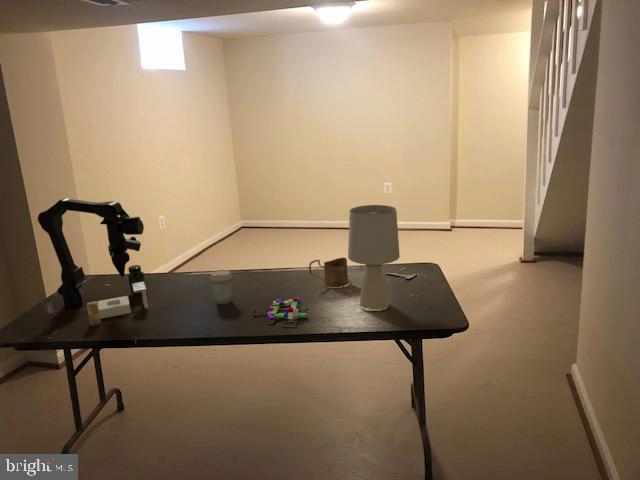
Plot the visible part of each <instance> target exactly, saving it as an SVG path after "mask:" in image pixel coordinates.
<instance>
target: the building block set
mask: <svg viewBox="0 0 640 480" xmlns="http://www.w3.org/2000/svg"><path fill="white" fill-rule="evenodd" d="M281 299H282V298H276V299H275V300H274V301H273V302H272V303H273V305H275V306H270V309H273V310H268V312H267V314H268V316H267V319H268V318H269V320H274V318H284V317H288V319H293V316H295V317H296V316H306V315H307V316H308V313H307V312H299V310H298V309H296V308H297V307H298V306H297V305H298V304H300V305H301V303H300V302H301V299H300V297H297V296H296V297H293V298H292V299H291V298H289V299H288V300H283V301H281ZM280 305H285V306H288V307H289V305H291V307H289V308H286V311H284V312H285V313H278V314H276V313H277V311H278V308H279V306H280ZM278 312H279V311H278ZM269 320H268V321H269Z"/></svg>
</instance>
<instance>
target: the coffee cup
mask: <svg viewBox="0 0 640 480" xmlns="http://www.w3.org/2000/svg"><path fill="white" fill-rule="evenodd" d="M232 278H233V274H232V272H231V270H227V269H219V270H218V269H217V270H214V271H213V272H211V275H210V282H211V284H212V288H213V292H214V298H215V303H216V304H218V305H226V304H227V305H228V304H230V303H231V302H232V287H233V286H232V280H233V279H232Z"/></svg>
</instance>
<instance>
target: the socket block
mask: <svg viewBox="0 0 640 480" xmlns="http://www.w3.org/2000/svg"><path fill="white" fill-rule="evenodd" d="M129 300H130V299H129V296H128V295H125V296H119V297H114V298H108V299H107V298H106V299H101V300H98V301H97V303H98V308H99V314H100V320H101V319H105V318H111V317H117V316H121V315H125V314H126V315H127V314H131V313H132V311H131V306H130V301H129Z"/></svg>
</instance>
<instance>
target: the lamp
mask: <svg viewBox="0 0 640 480" xmlns="http://www.w3.org/2000/svg"><path fill="white" fill-rule="evenodd" d="M348 222H349V223H348V245H347V246H348V249H347V258H348V260H349V261H351V262H353V263H356V264H361V265H365V268H366V271H365V274H364V276H363V279H362V283H361V289H360V295H359V299H360V300H359V306H360V305H361V306H362V307H364V308H370V309H380V308H384V307H387V306H388V305H389V304H390V296H389V291H388V284H387V280H386V277H385V274H384V272H383V271H382V269H381V268H382V266H383V265H386V264H387V265H388V264H390V263H393V262H396V261H398V260H399V259H400V257H401V256H400V244H399V243H400V242H399V241H400V240H399V228H398V214H397V208H396V207H394V206H390V205H382V204H368V205H359V206H355V207H352V208H350V210H349V219H348Z"/></svg>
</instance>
